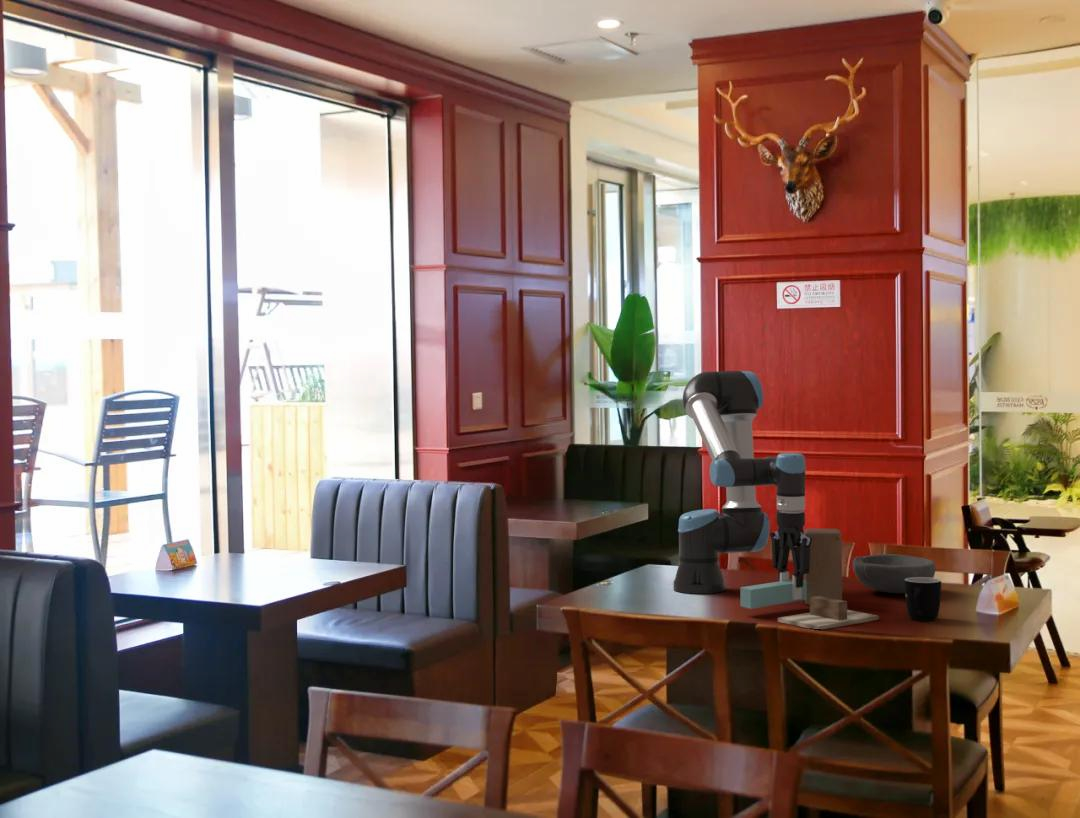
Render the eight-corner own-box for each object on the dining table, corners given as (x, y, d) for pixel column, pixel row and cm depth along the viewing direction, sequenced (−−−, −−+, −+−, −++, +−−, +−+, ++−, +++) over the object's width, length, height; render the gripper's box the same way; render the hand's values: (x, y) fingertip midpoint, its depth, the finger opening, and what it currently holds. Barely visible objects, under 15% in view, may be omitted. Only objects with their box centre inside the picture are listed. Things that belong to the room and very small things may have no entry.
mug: (909, 614, 329) (909, 576, 329) (945, 617, 324) (944, 578, 324) (897, 622, 318) (897, 582, 318) (933, 625, 314) (933, 585, 314)
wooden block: (842, 606, 342) (841, 532, 342) (804, 605, 344) (804, 532, 344) (841, 599, 352) (840, 528, 352) (804, 599, 354) (803, 528, 354)
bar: (740, 606, 331) (740, 587, 331) (796, 597, 342) (796, 578, 342) (750, 608, 328) (750, 589, 328) (806, 599, 339) (806, 581, 338)
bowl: (906, 603, 345) (906, 566, 345) (838, 593, 362) (837, 558, 362) (951, 592, 361) (951, 557, 360) (883, 583, 378) (883, 550, 377)
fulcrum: (777, 621, 322) (777, 600, 322) (837, 611, 334) (837, 591, 334) (818, 630, 311) (817, 608, 310) (878, 619, 323) (878, 598, 323)
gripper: (758, 508, 342) (758, 594, 343) (803, 515, 328) (803, 604, 329) (778, 506, 346) (778, 590, 347) (824, 513, 332) (824, 601, 333)
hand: (790, 597), depth 338 cm, fingers closed on bar, 4 cm apart
